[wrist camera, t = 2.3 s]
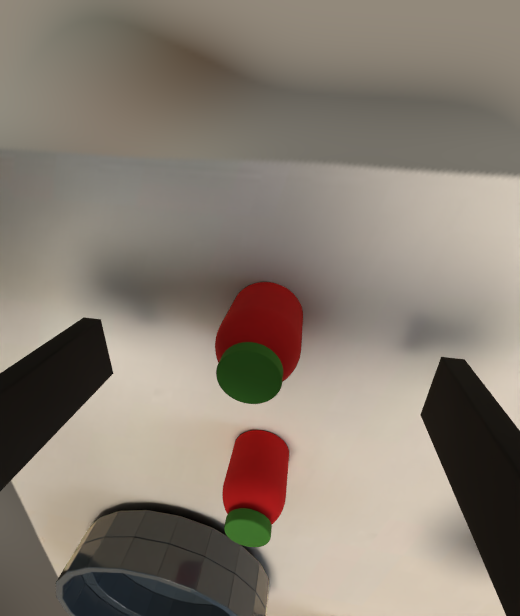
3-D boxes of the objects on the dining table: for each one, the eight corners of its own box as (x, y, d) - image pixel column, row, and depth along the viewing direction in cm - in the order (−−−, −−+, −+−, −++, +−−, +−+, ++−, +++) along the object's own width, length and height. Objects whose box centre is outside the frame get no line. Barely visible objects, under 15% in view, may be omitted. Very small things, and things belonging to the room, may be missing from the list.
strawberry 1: (218, 303, 15) (180, 362, 11) (276, 267, 14) (260, 317, 10) (258, 355, 16) (239, 427, 12) (316, 325, 15) (318, 395, 11)
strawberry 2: (223, 440, 20) (198, 521, 15) (268, 422, 18) (254, 505, 14) (255, 473, 21) (240, 558, 16) (299, 459, 19) (296, 547, 15)
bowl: (57, 525, 29) (16, 584, 25) (184, 481, 22) (157, 551, 18) (174, 612, 34) (155, 673, 30) (306, 595, 27) (305, 670, 23)
